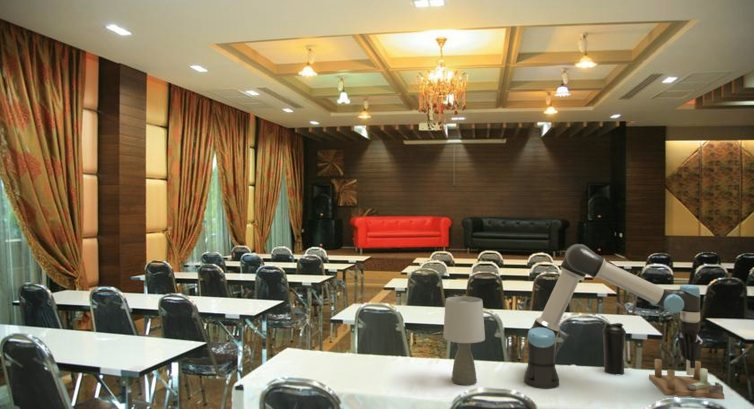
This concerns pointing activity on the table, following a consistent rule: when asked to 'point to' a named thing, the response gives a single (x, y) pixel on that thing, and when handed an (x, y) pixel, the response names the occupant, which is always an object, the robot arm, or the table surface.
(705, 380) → the hinged leg
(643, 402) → the table surface
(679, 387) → the stool seat
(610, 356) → the water bottle
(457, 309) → the lamp
